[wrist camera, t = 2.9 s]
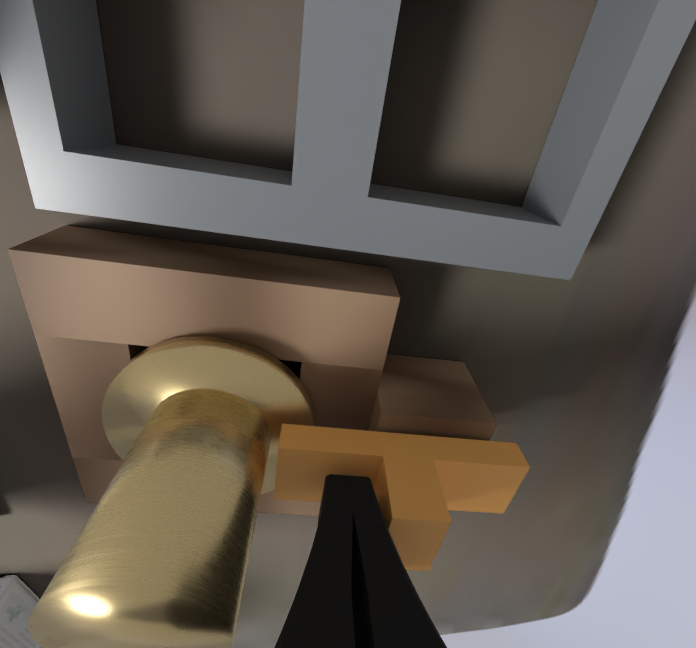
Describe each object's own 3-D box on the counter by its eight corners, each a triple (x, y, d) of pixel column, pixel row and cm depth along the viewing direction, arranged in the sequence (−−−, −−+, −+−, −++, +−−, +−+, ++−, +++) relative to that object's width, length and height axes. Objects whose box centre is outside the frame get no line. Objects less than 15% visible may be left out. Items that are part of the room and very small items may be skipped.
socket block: (116, 454, 18) (70, 528, 14) (65, 225, 12) (-27, 263, 9) (421, 476, 19) (438, 547, 16) (493, 281, 14) (540, 330, 11)
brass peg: (156, 427, 17) (3, 698, 9) (136, 287, 13) (-137, 529, 6) (309, 439, 18) (291, 700, 10) (327, 309, 14) (321, 550, 6)
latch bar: (277, 473, 13) (263, 563, 10) (282, 423, 12) (268, 510, 9) (492, 488, 14) (529, 574, 11) (516, 443, 13) (564, 528, 10)
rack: (90, 190, 12) (34, 208, 10) (12, -236, 8) (-116, -377, 5) (531, 253, 13) (570, 280, 11) (665, -74, 9) (767, -131, 7)
